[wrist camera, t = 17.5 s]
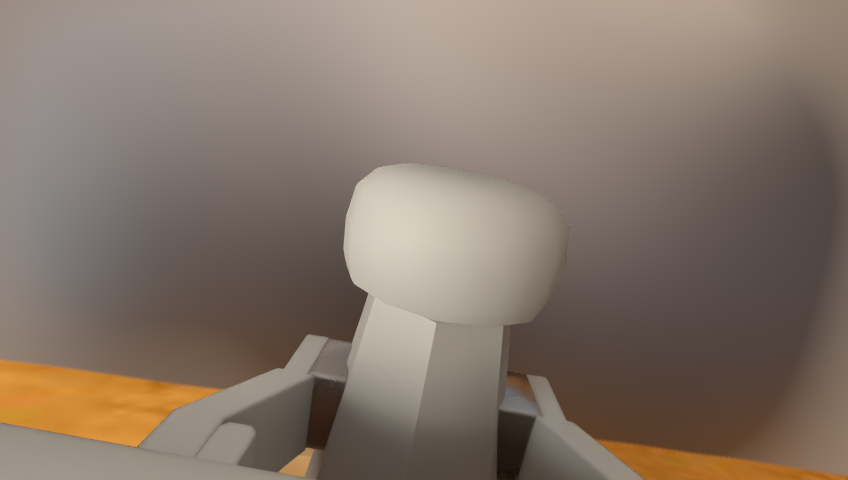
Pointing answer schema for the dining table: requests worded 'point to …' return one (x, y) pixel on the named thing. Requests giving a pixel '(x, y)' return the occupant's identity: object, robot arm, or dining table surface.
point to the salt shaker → (436, 319)
